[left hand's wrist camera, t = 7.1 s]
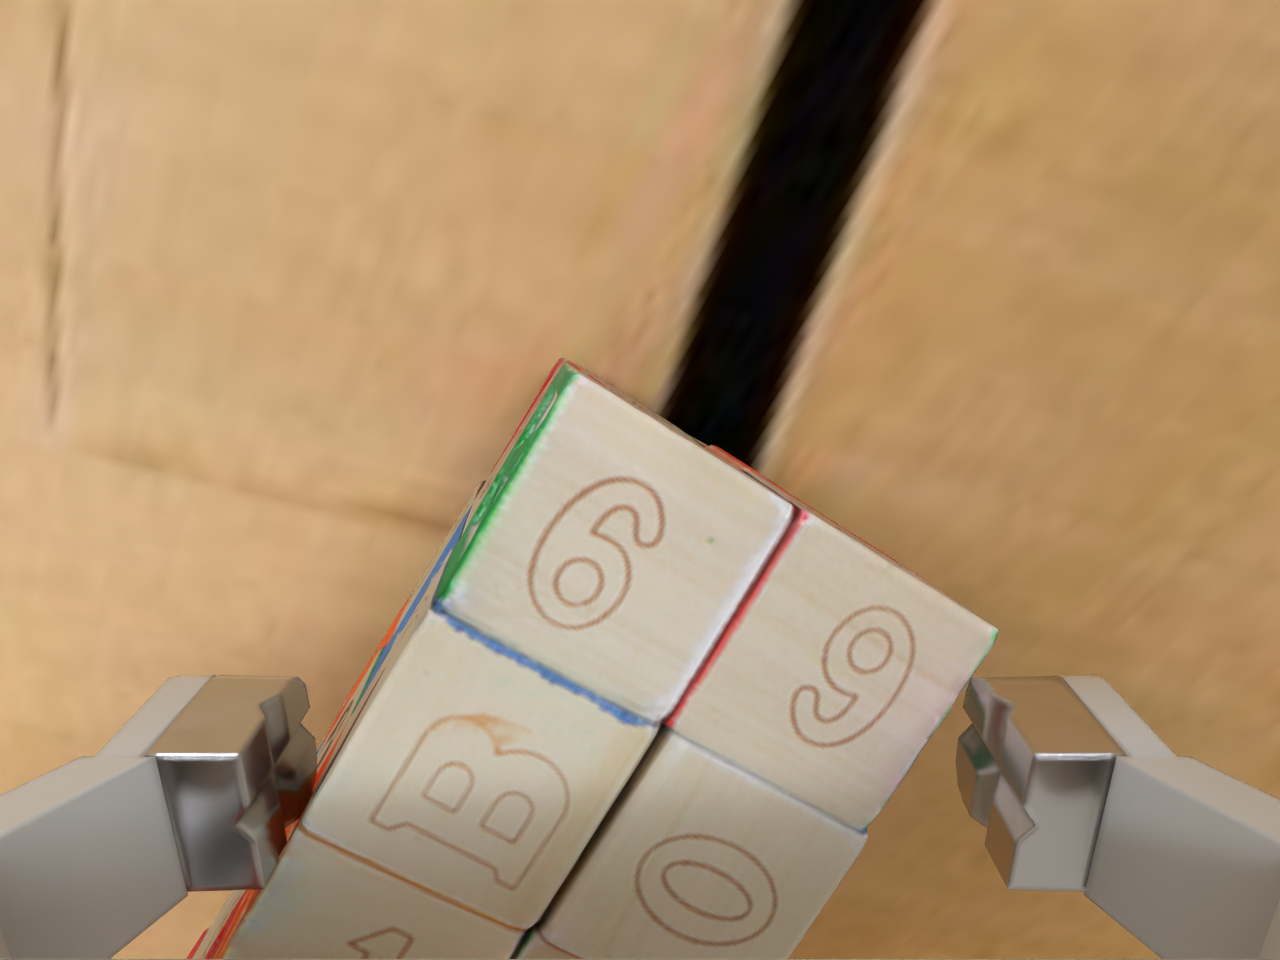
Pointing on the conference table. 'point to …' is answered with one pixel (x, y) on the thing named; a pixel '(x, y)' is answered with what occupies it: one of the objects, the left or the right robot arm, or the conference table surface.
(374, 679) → the stack of blocks
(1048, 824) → the left robot arm
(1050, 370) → the conference table surface
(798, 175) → the conference table surface
